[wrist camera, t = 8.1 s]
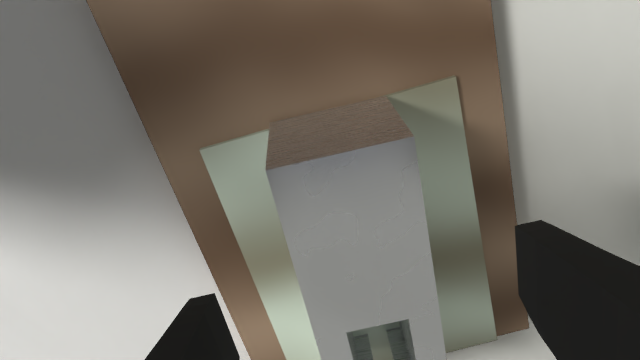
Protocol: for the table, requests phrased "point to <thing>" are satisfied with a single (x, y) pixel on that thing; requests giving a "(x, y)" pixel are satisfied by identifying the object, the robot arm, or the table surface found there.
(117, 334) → the table surface
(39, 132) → the table surface
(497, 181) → the stand
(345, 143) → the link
